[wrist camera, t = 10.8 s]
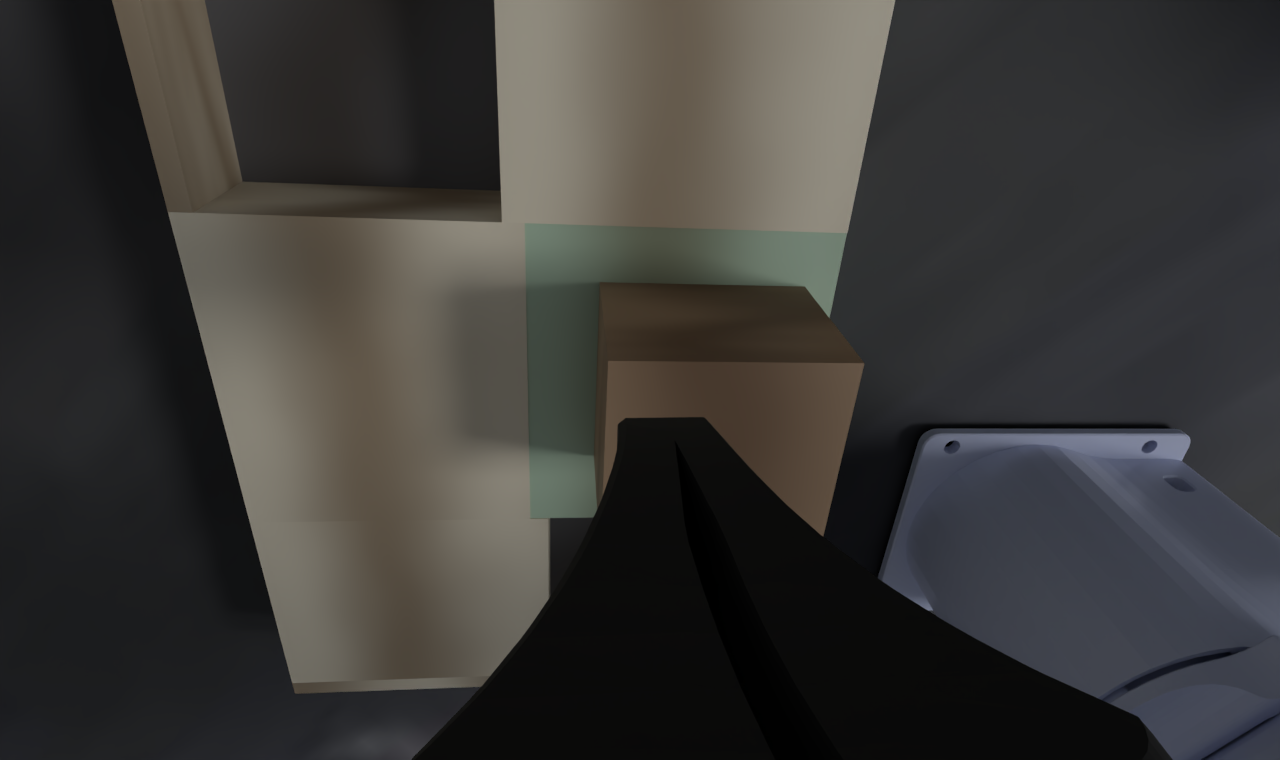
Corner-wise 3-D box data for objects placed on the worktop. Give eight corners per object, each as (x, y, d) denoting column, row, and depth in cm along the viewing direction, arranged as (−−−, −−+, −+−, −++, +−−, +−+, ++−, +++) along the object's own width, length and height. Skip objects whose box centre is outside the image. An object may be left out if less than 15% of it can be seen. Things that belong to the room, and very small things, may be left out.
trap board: (863, -113, 16) (921, -130, 13) (738, 608, 27) (756, 676, 24) (149, -173, 14) (57, -207, 12) (322, 619, 25) (294, 693, 23)
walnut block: (805, 286, 17) (863, 363, 14) (774, 455, 20) (818, 557, 16) (599, 282, 17) (608, 360, 13) (593, 456, 19) (600, 561, 16)
